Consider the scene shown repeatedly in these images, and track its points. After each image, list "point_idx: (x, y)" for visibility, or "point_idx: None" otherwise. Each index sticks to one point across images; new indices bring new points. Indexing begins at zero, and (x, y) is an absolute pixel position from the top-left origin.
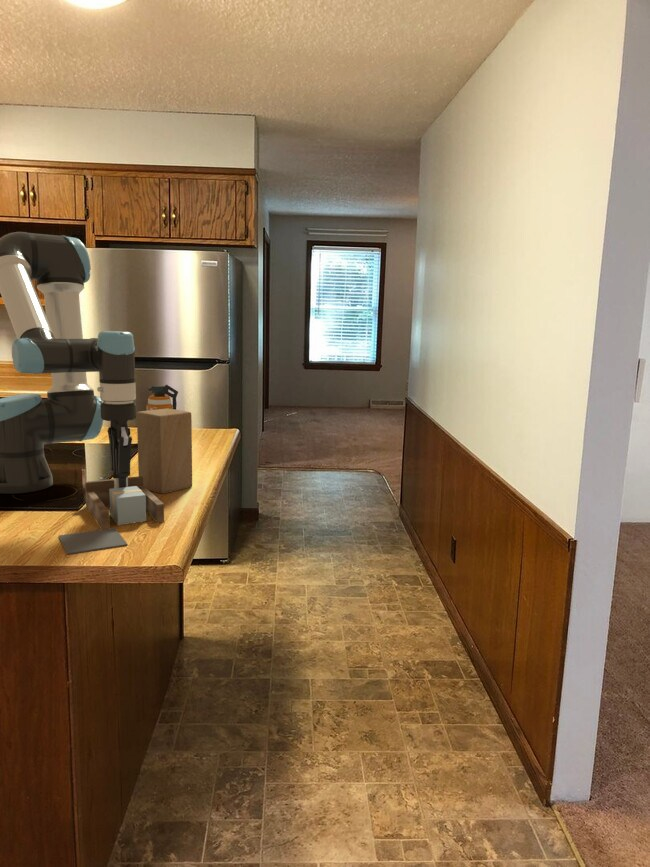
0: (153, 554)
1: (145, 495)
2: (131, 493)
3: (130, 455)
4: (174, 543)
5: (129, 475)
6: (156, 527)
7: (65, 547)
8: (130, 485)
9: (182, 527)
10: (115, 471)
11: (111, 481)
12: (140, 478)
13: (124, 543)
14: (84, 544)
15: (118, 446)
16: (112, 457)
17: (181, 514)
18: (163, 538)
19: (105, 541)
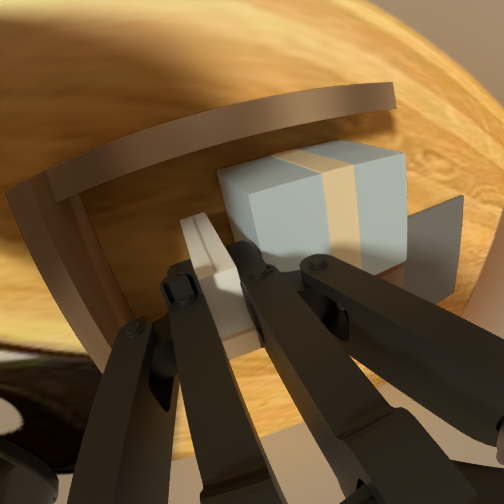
0: (494, 152)
1: (403, 153)
2: (371, 212)
3: (456, 316)
4: (473, 102)
5: (324, 256)
6: (391, 116)
7: (434, 303)
8: (68, 235)
9: (403, 50)
10: (225, 351)
11: (104, 333)
12: (35, 193)
13: (460, 201)
14: (437, 276)
15: (468, 432)
16: (171, 438)
17: (285, 15)
18: (452, 116)
19: (441, 240)
